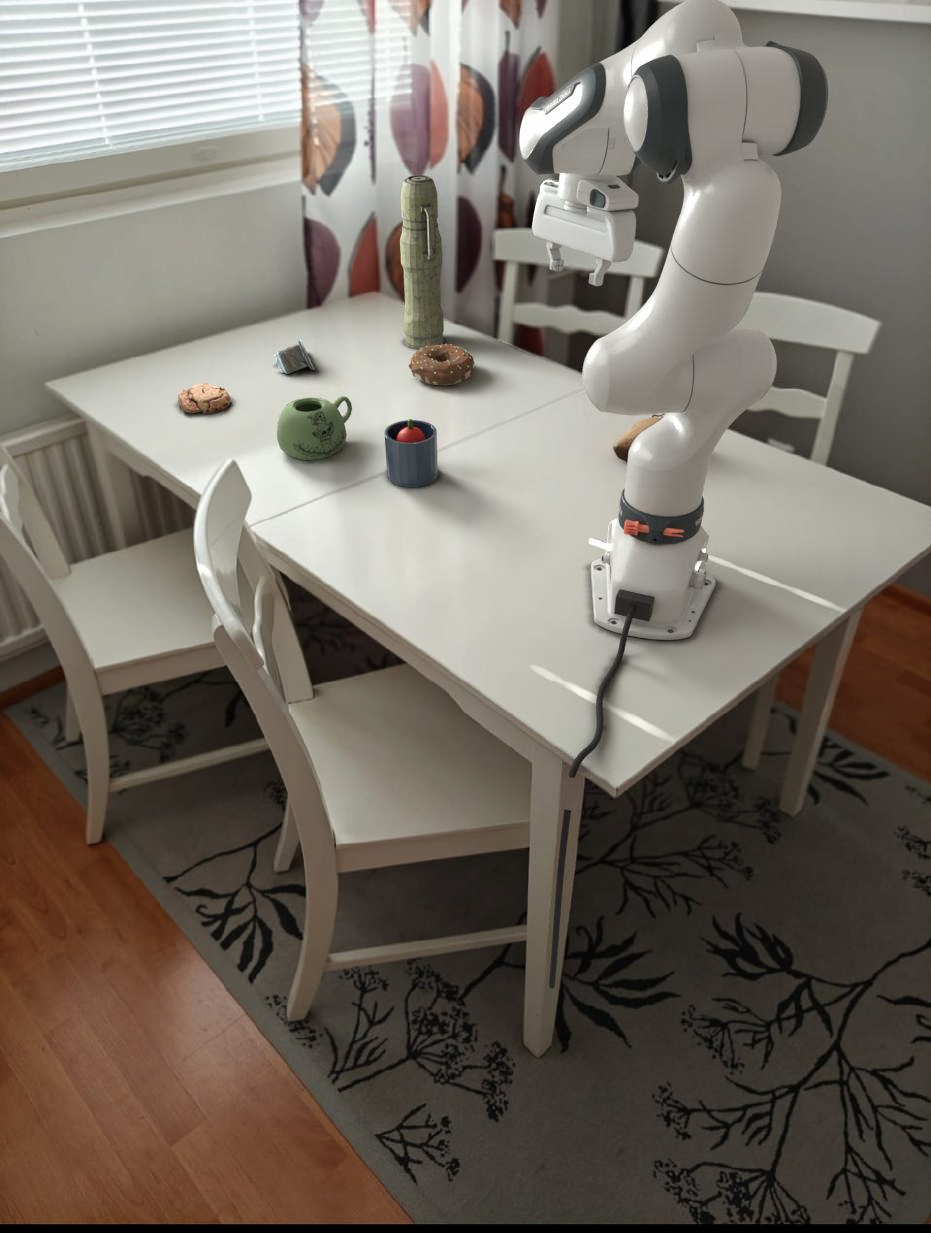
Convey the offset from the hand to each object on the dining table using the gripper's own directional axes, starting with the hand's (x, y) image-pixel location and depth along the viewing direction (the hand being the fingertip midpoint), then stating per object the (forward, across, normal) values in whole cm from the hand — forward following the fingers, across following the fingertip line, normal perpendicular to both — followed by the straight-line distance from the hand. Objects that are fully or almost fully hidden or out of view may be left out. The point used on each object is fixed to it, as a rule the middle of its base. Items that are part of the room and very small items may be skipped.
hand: (575, 277), depth 163 cm
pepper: (+34, -12, -23) cm, 43 cm away
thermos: (+30, -60, +14) cm, 68 cm away
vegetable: (+31, +10, +15) cm, 36 cm away
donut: (+31, -42, +6) cm, 53 cm away
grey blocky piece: (+33, -67, -15) cm, 76 cm away
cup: (+35, -12, -23) cm, 43 cm away
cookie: (+36, -62, -39) cm, 81 cm away
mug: (+36, -32, -30) cm, 56 cm away
